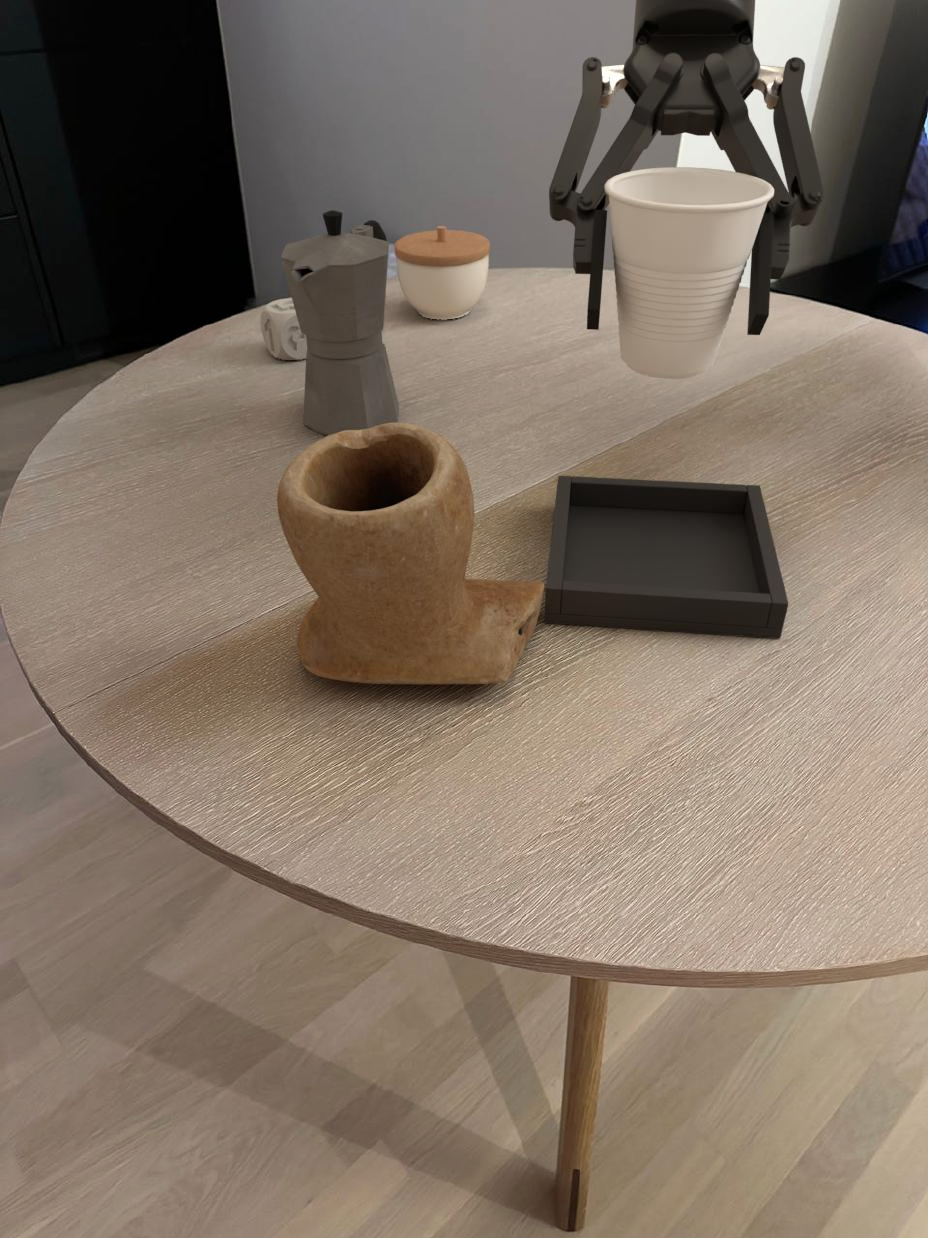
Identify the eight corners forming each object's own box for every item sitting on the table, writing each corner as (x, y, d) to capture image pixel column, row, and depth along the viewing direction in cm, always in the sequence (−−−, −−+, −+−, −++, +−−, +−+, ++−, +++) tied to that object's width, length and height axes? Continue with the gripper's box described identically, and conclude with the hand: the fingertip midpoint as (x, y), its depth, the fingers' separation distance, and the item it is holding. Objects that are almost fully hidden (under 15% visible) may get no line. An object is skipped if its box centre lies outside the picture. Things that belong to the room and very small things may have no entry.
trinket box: (379, 316, 108) (373, 231, 102) (434, 290, 115) (431, 210, 109) (455, 334, 103) (453, 245, 97) (507, 306, 110) (508, 222, 104)
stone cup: (275, 715, 54) (231, 489, 45) (322, 596, 63) (294, 389, 54) (535, 733, 53) (544, 503, 43) (544, 608, 62) (553, 397, 53)
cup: (573, 380, 60) (584, 197, 53) (613, 328, 67) (627, 161, 60) (729, 403, 57) (762, 212, 50) (753, 345, 64) (784, 172, 57)
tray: (753, 517, 71) (760, 485, 69) (780, 639, 59) (788, 603, 57) (556, 506, 73) (558, 475, 71) (544, 623, 61) (545, 588, 59)
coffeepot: (367, 455, 80) (347, 237, 69) (271, 439, 83) (238, 226, 72) (434, 386, 91) (427, 190, 80) (349, 374, 94) (330, 182, 83)
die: (264, 350, 100) (257, 303, 97) (306, 340, 102) (300, 294, 99) (283, 364, 96) (276, 317, 93) (326, 354, 99) (321, 307, 96)
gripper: (854, 35, 62) (842, 354, 59) (528, 37, 65) (501, 342, 62) (893, -61, 55) (881, 298, 52) (522, -54, 58) (492, 287, 55)
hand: (674, 322), depth 57 cm, fingers closed on cup, 9 cm apart
